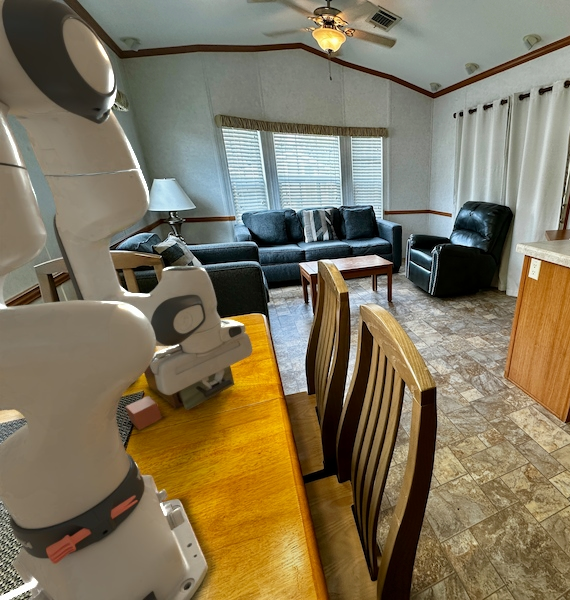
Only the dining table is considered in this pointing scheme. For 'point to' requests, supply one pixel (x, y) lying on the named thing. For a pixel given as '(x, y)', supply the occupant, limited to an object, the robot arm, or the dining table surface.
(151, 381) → the cabinet
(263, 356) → the dining table surface
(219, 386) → the drawer
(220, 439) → the dining table surface
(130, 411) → the block
